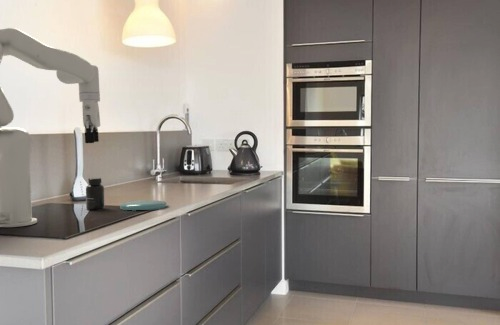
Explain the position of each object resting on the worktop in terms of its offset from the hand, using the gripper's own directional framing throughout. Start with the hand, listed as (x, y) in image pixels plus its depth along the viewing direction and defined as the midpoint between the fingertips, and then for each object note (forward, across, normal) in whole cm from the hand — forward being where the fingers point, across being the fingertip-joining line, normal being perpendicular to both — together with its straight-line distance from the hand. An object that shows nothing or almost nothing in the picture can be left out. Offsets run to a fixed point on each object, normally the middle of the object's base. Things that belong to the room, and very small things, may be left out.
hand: (92, 142), depth 194 cm
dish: (+26, 0, -18) cm, 32 cm away
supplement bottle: (+26, 0, 0) cm, 26 cm away
